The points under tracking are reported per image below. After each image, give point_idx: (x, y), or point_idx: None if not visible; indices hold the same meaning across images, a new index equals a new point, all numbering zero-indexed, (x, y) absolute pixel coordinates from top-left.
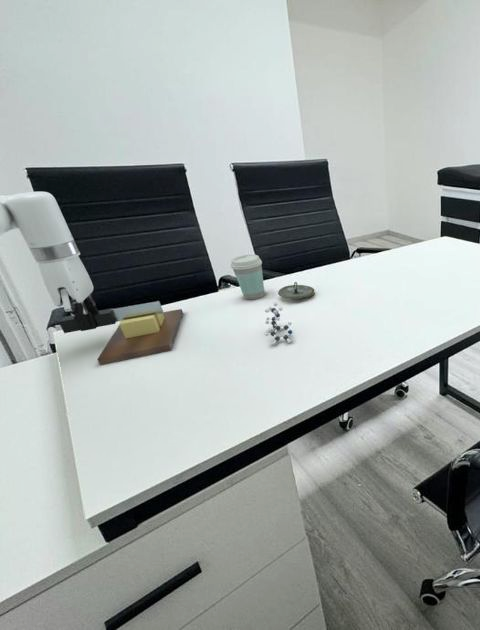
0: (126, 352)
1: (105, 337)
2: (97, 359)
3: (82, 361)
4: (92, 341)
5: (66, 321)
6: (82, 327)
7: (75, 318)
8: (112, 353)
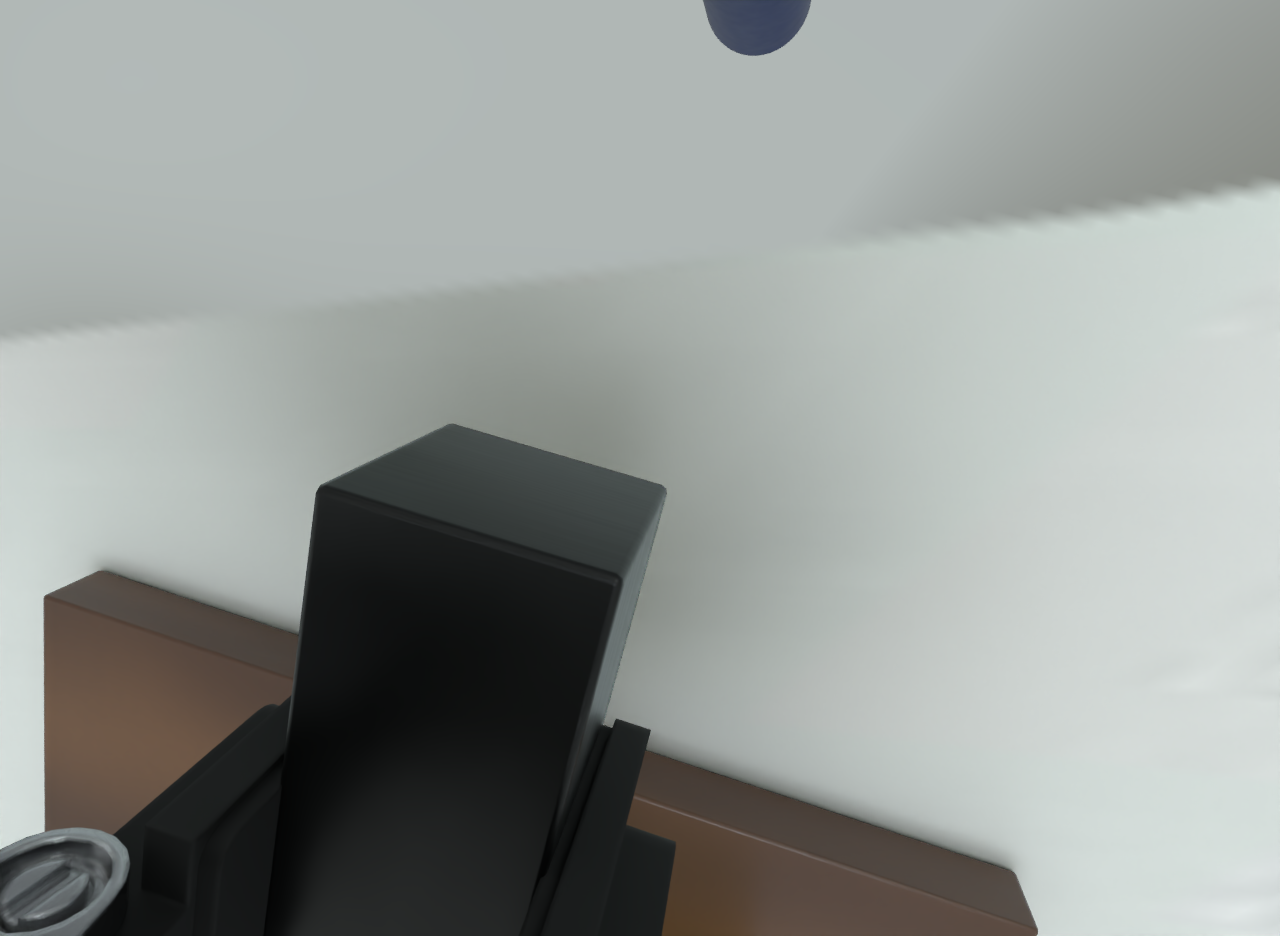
0: (57, 795)
1: (752, 663)
2: (44, 596)
3: (258, 445)
4: (739, 545)
5: (308, 612)
6: (265, 711)
7: (196, 795)
8: (97, 708)
